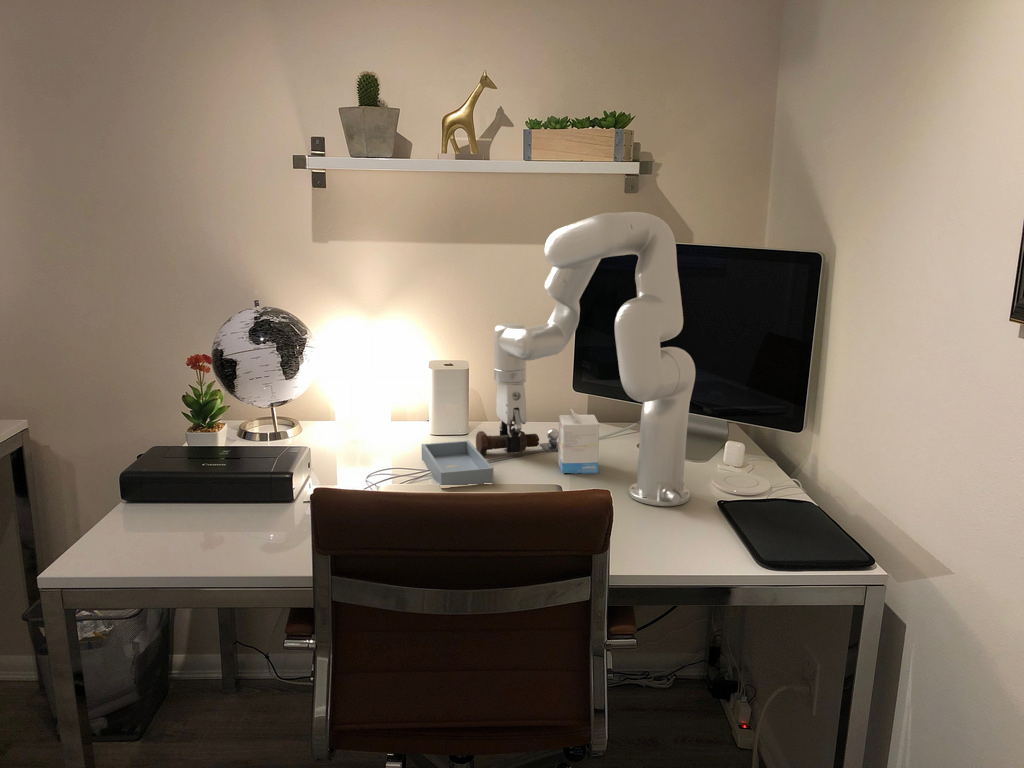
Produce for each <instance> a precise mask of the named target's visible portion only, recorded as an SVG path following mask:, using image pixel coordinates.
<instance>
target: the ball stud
mask: <svg viewBox="0 0 1024 768" xmlns="http://www.w3.org/2000/svg"><path fill="white" fill-rule="evenodd" d="M546 437H547V439H548V442H544V443H542V442H541V443H539V447H540V446H541V447H542V448H541V447H540V448H541V449H542V450H544V451H545V452H546V453H549V452H548V451H553V452H558V438H559V429H557V428H550V429H548V431H547V433H546Z"/></svg>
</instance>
